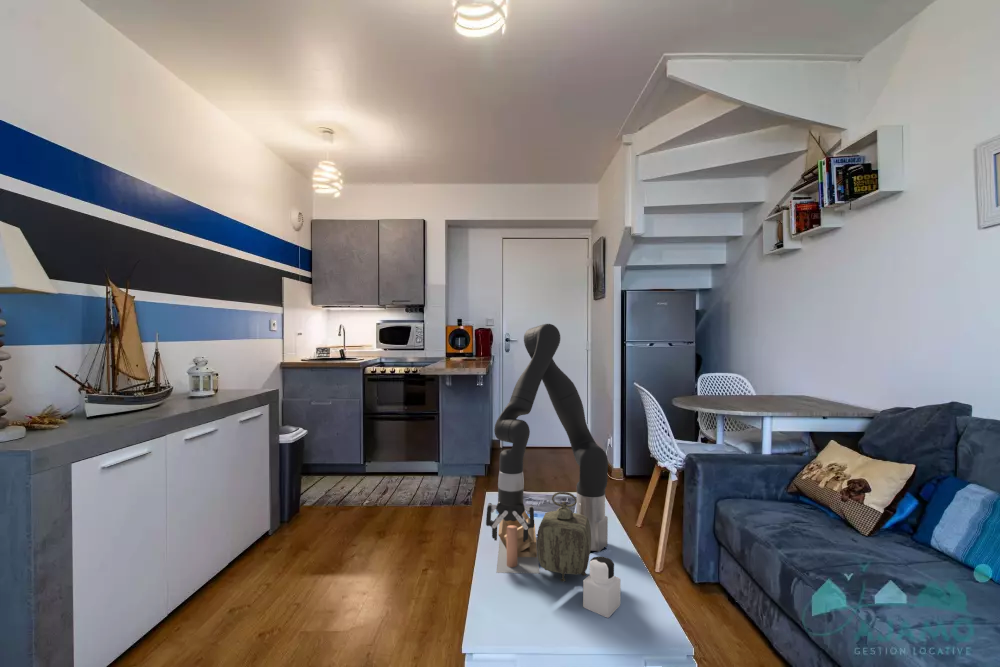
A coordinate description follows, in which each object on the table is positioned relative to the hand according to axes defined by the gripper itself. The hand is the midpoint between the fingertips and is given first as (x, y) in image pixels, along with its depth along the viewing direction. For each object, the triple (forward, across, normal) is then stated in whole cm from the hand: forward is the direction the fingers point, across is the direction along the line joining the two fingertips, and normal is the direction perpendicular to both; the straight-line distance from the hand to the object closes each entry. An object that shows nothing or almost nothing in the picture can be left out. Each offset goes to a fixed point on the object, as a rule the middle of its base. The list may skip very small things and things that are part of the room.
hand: (509, 540), depth 137 cm
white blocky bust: (+8, -24, +17) cm, 31 cm away
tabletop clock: (+8, -16, +6) cm, 19 cm away
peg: (+7, -1, 0) cm, 7 cm away
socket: (+7, -3, -11) cm, 13 cm away
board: (+8, -2, -7) cm, 11 cm away
